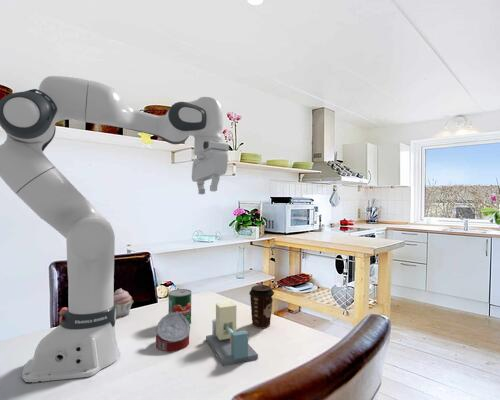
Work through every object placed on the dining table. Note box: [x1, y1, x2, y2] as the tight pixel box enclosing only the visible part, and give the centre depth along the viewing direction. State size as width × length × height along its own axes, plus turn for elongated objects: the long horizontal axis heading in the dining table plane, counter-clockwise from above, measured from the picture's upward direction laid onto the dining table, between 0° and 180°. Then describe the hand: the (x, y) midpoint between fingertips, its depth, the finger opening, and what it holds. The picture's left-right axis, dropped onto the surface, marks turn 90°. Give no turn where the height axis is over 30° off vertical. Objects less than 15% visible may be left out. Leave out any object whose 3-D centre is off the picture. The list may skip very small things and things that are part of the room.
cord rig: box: [205, 318, 259, 367], centre depth 94 cm, size 10×17×8 cm, turn 23°
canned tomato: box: [168, 288, 192, 326], centre depth 113 cm, size 8×8×11 cm
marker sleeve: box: [215, 301, 237, 340], centre depth 98 cm, size 5×4×10 cm
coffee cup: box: [248, 284, 275, 329], centre depth 112 cm, size 9×8×13 cm
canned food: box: [155, 312, 191, 353], centre depth 97 cm, size 11×10×10 cm
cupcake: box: [114, 287, 134, 318], centre depth 121 cm, size 9×9×10 cm
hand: (207, 192), depth 100 cm, fingers open, 8 cm apart
